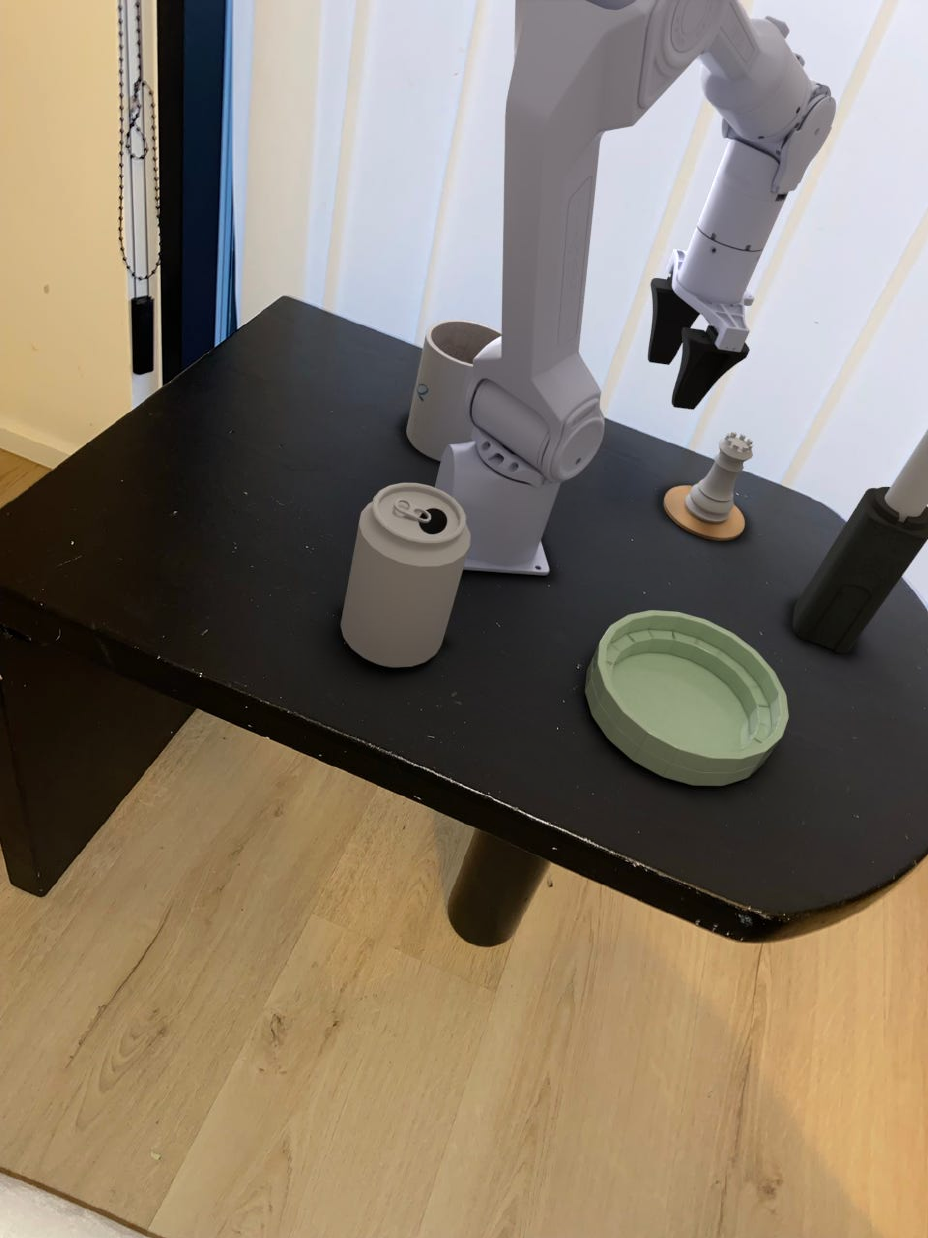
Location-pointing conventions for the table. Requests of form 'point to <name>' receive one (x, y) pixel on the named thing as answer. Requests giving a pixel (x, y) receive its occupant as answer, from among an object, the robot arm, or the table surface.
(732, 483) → the rook chess piece
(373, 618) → the can
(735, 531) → the coaster
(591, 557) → the table surface
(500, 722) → the table surface
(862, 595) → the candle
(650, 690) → the dish
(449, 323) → the mug
